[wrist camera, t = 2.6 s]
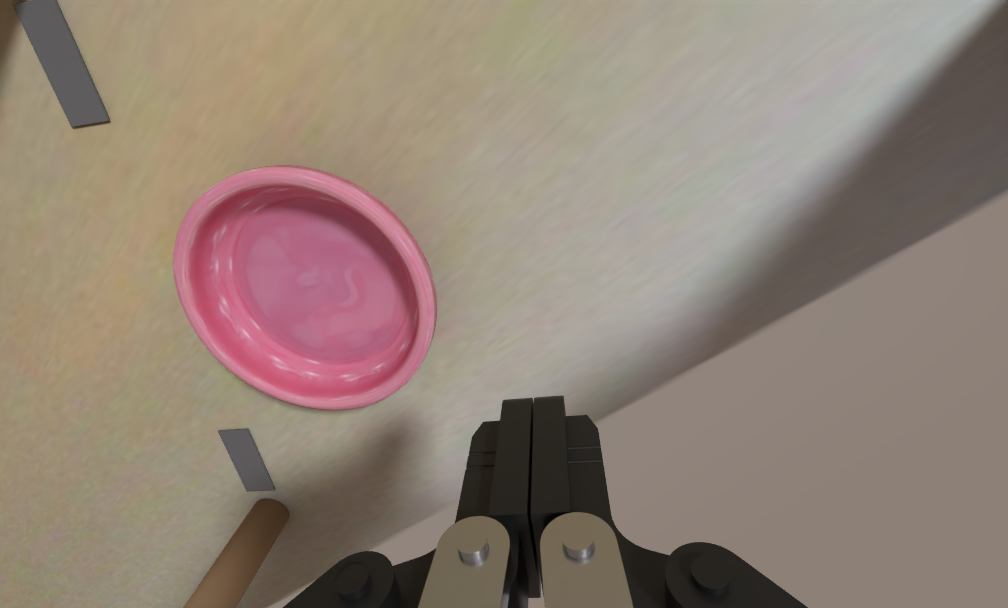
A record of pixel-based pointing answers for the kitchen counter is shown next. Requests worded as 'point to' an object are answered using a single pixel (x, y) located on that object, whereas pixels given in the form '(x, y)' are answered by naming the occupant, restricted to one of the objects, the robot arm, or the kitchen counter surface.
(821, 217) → the kitchen counter surface
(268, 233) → the pink shallow bowl
